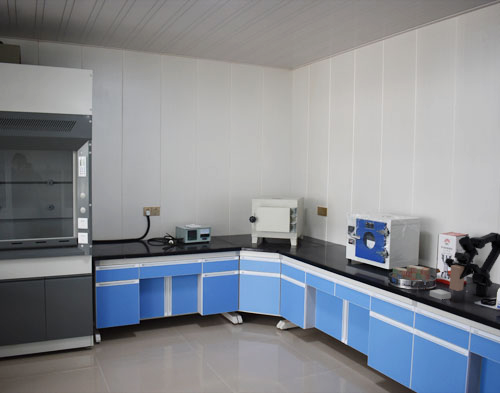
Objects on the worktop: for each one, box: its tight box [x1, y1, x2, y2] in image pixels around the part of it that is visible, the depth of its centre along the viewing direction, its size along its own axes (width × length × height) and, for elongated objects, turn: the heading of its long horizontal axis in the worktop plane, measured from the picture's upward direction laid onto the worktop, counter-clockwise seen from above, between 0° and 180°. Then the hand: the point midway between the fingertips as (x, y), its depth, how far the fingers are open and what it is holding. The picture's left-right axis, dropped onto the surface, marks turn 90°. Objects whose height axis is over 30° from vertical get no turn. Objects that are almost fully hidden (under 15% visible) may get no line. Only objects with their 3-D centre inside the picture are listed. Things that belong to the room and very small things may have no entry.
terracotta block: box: [448, 265, 465, 292], centre depth 249 cm, size 5×5×13 cm
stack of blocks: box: [392, 264, 431, 285], centre depth 282 cm, size 21×6×12 cm, turn 48°
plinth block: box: [429, 289, 452, 300], centre depth 258 cm, size 8×8×3 cm
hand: (455, 277), depth 248 cm, fingers closed on terracotta block, 5 cm apart
